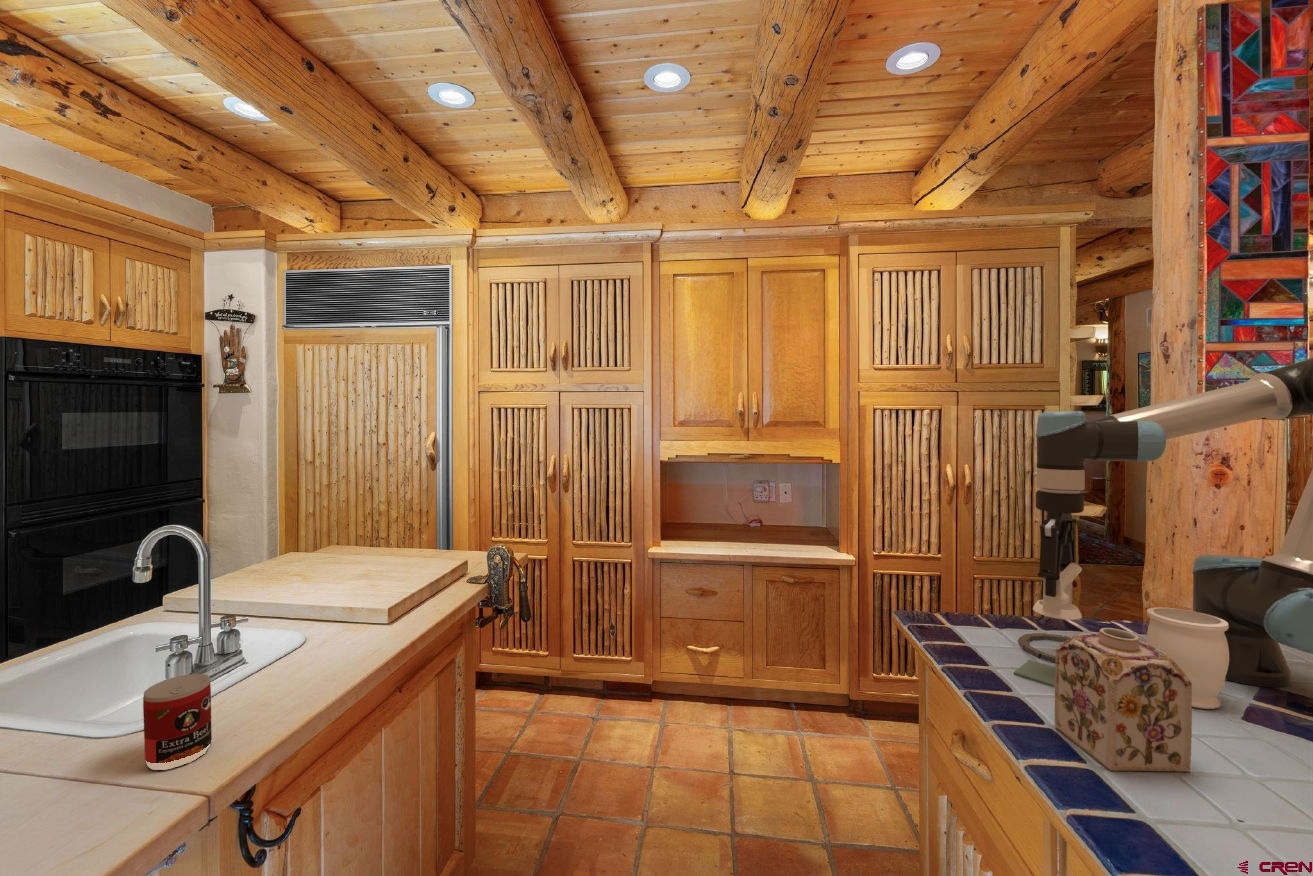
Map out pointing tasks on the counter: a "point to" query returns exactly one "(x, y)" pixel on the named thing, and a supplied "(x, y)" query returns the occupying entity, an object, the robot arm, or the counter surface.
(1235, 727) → the counter surface
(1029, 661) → the rubber mat
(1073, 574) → the hook
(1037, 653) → the metal ring
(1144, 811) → the counter surface
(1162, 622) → the jar
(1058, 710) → the decorative jar
